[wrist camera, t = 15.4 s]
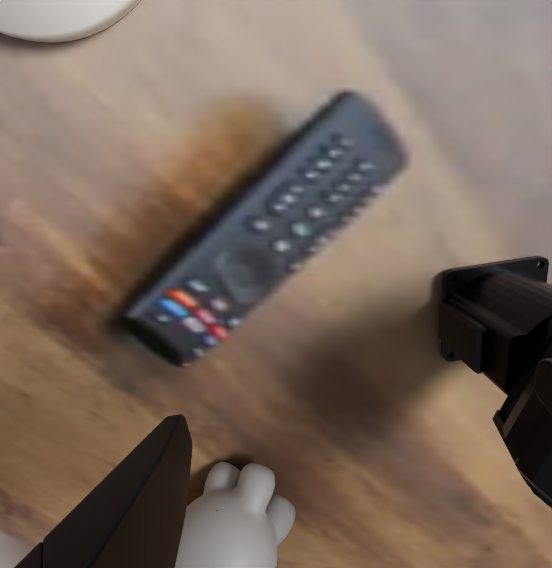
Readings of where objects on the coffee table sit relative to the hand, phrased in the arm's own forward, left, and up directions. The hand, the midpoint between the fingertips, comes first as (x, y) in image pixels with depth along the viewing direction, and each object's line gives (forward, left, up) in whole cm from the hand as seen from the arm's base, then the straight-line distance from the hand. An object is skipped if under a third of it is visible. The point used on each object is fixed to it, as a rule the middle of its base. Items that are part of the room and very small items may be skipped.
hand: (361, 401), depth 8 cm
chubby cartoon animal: (+9, +17, -13) cm, 24 cm away
